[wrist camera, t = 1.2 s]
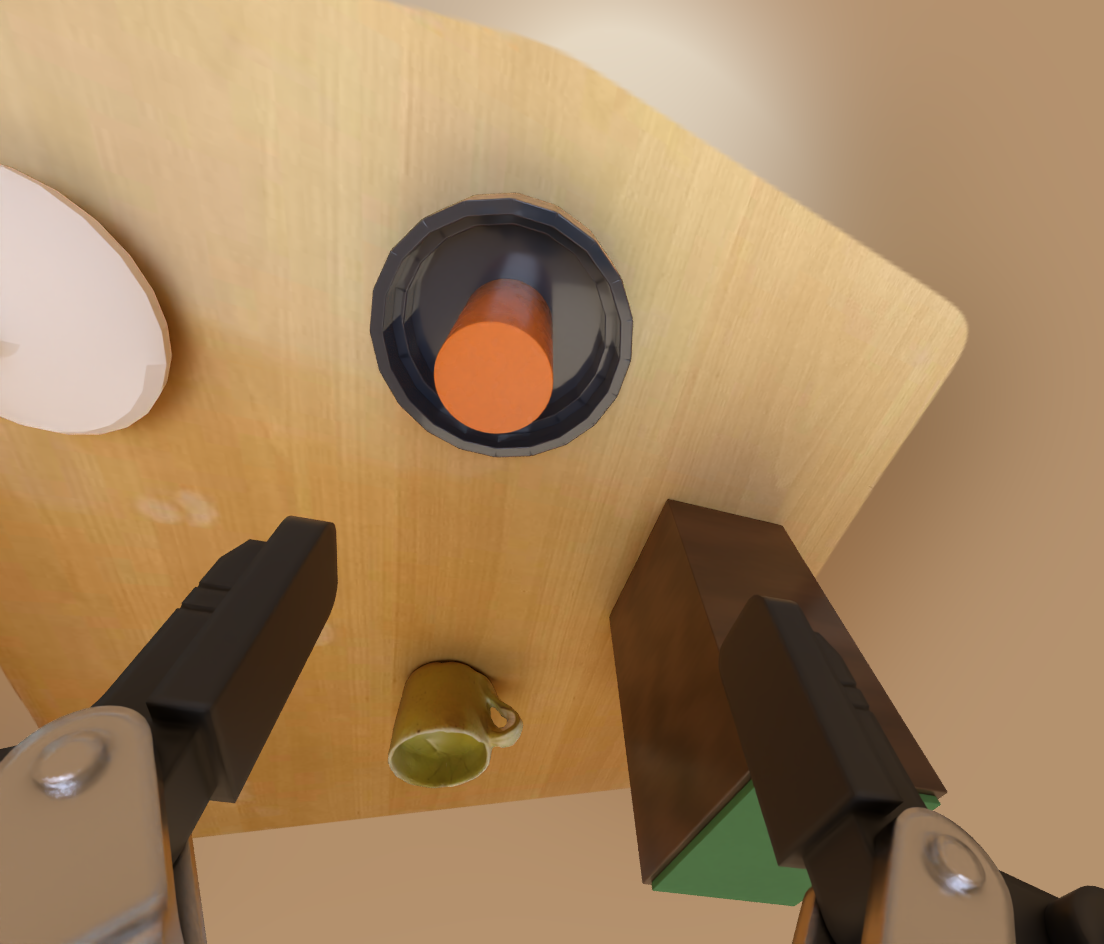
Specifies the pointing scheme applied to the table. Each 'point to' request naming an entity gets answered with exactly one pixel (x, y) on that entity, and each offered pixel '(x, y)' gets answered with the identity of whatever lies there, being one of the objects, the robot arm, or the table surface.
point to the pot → (489, 254)
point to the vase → (72, 318)
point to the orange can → (498, 359)
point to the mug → (448, 726)
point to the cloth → (738, 858)
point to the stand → (711, 669)
